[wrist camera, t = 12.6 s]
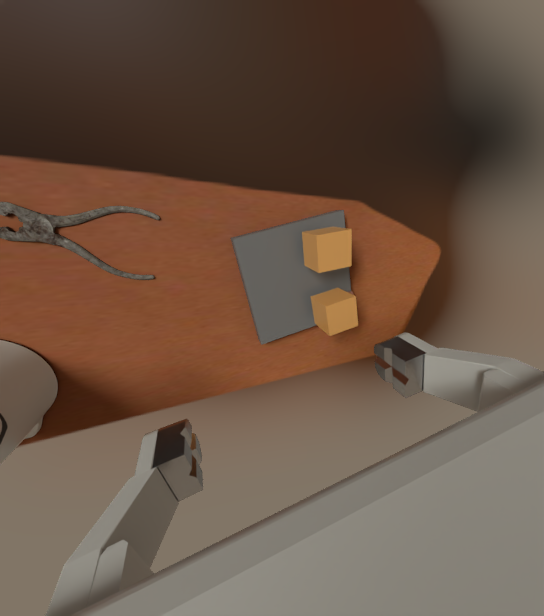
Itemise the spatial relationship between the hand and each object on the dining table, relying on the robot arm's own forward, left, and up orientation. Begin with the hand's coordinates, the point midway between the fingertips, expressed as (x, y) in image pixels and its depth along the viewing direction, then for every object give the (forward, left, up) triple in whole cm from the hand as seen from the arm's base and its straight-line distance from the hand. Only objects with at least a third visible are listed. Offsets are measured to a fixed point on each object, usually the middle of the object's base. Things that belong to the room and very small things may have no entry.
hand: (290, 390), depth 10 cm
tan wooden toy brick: (+15, -1, -27) cm, 31 cm away
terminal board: (+12, -6, -31) cm, 34 cm away
